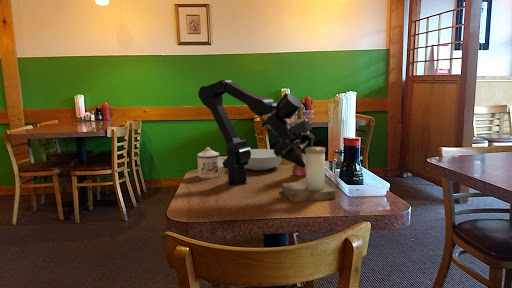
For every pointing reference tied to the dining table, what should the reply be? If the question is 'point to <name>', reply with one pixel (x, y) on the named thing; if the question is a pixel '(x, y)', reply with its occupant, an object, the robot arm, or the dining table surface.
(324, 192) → the beige rectangular box
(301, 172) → the liquor
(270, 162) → the serving bowl
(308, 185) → the cream jar
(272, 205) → the dining table surface
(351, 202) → the dining table surface
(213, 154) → the teacup with lid
